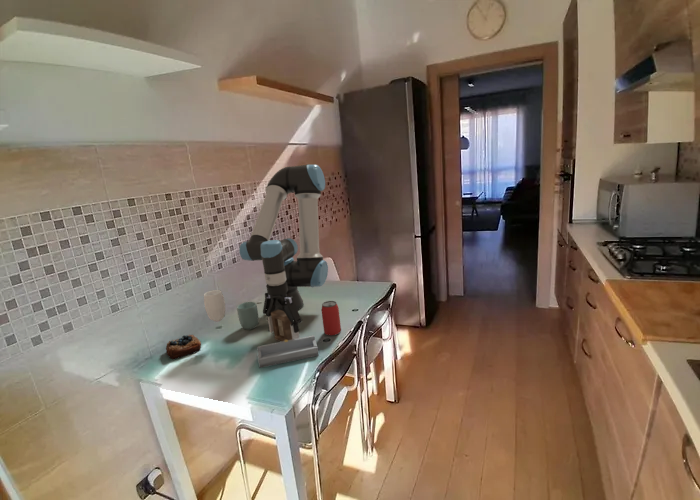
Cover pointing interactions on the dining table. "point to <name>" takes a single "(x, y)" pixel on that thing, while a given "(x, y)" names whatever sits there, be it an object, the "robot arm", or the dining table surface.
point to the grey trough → (287, 351)
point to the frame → (281, 325)
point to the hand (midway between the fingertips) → (284, 335)
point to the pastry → (183, 346)
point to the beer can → (331, 318)
